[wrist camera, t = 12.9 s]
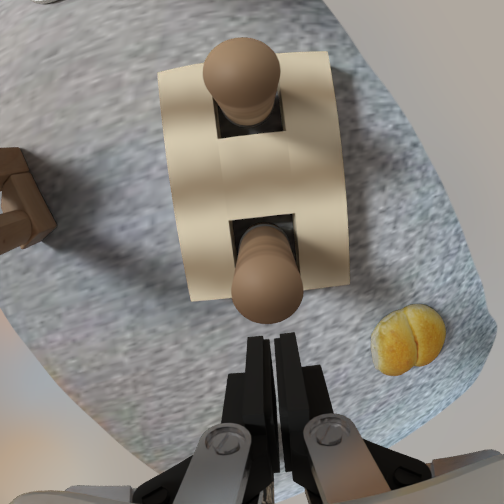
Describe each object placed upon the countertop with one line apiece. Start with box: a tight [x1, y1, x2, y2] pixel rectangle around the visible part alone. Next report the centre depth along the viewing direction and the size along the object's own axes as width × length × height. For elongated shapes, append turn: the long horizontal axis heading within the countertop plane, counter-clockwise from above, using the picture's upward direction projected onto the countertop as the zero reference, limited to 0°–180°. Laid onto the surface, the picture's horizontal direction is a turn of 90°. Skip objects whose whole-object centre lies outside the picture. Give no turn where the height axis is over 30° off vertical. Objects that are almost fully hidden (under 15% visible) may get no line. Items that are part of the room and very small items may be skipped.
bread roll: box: [371, 304, 446, 376], centre depth 30 cm, size 8×9×4 cm
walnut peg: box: [231, 222, 303, 324], centre depth 23 cm, size 4×4×12 cm
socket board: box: [157, 51, 350, 301], centre depth 26 cm, size 20×14×3 cm
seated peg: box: [203, 37, 281, 128], centre depth 20 cm, size 4×4×12 cm
